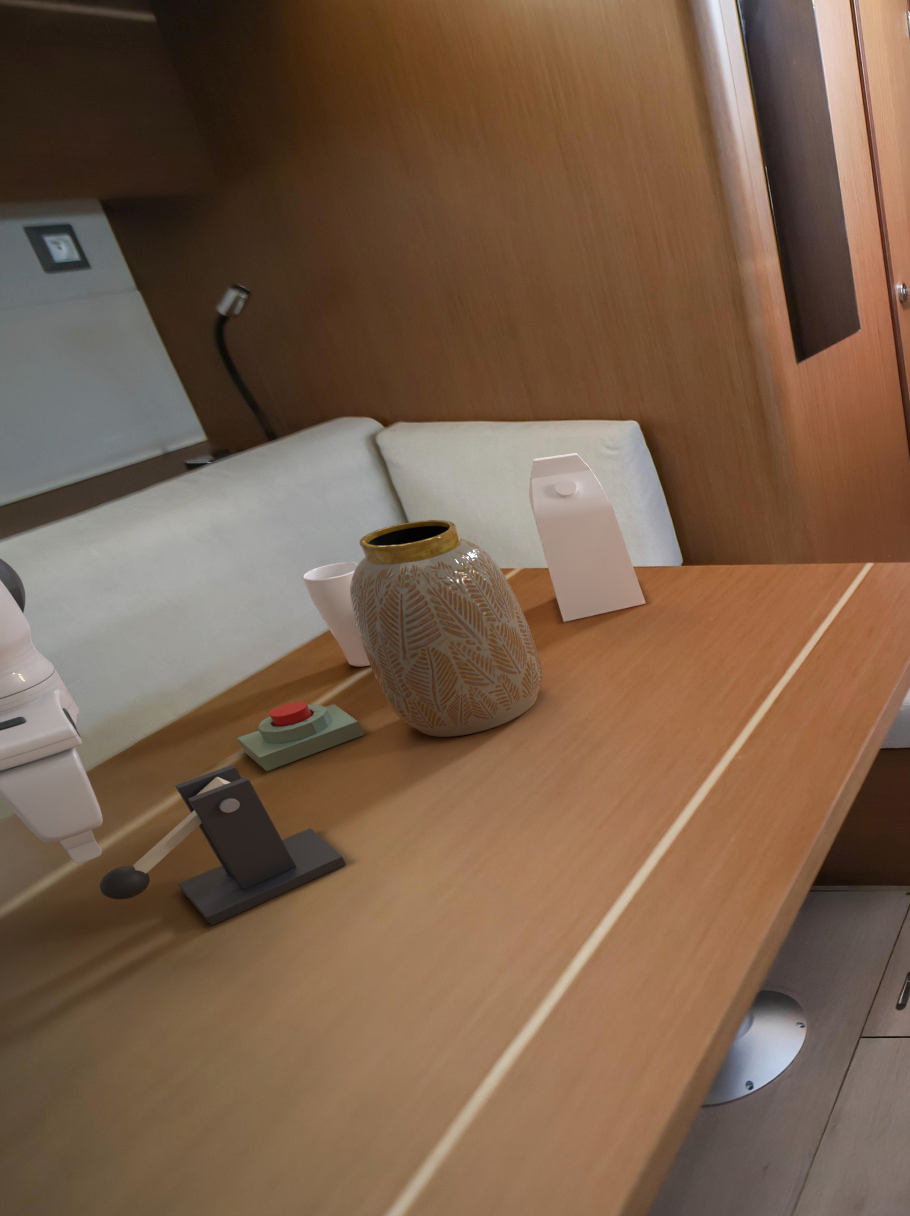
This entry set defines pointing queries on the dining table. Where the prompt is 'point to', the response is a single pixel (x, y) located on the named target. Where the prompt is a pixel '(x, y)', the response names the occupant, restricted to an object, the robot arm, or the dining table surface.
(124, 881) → the lever switch
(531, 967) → the dining table surface
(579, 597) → the milk
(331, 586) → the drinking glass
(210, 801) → the lever on stand
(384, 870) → the dining table surface
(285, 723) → the power button
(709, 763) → the dining table surface
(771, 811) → the dining table surface
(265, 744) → the green button base
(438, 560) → the vase
